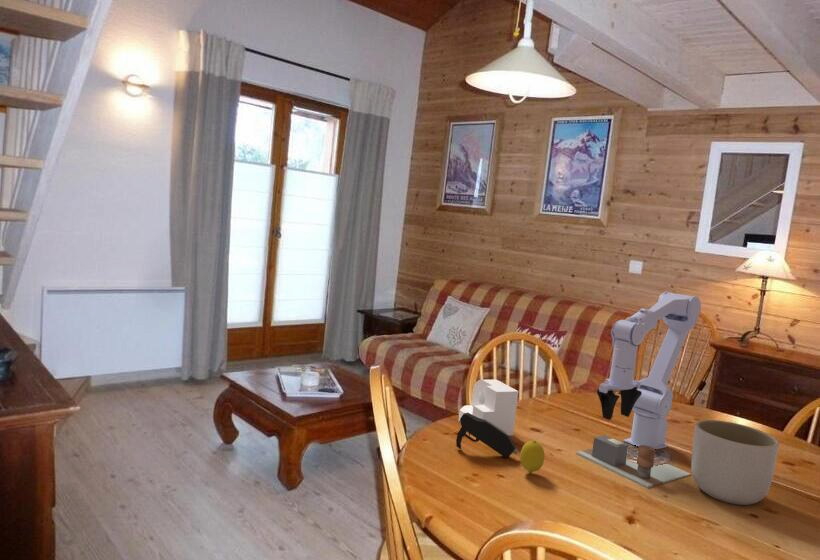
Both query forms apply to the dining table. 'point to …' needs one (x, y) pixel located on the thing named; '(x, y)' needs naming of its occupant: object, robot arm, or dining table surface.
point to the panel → (629, 471)
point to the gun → (485, 434)
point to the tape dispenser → (493, 404)
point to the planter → (733, 461)
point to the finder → (610, 450)
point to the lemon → (532, 456)
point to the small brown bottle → (645, 461)
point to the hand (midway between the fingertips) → (616, 417)
